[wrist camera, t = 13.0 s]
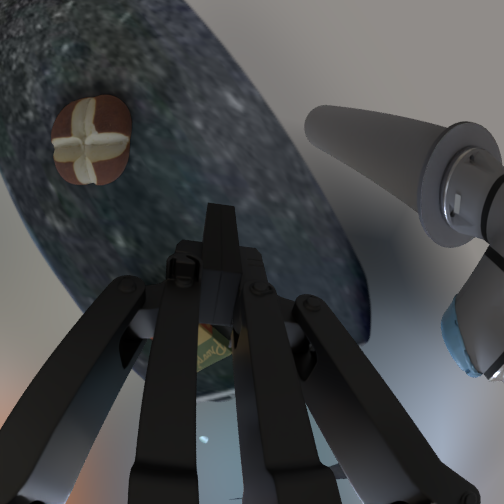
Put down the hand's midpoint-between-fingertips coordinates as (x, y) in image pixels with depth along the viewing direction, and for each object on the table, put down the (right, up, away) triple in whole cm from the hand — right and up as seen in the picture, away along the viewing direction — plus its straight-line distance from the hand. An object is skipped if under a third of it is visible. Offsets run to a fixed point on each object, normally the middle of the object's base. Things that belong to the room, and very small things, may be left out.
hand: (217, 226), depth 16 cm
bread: (-18, +13, +13) cm, 25 cm away
